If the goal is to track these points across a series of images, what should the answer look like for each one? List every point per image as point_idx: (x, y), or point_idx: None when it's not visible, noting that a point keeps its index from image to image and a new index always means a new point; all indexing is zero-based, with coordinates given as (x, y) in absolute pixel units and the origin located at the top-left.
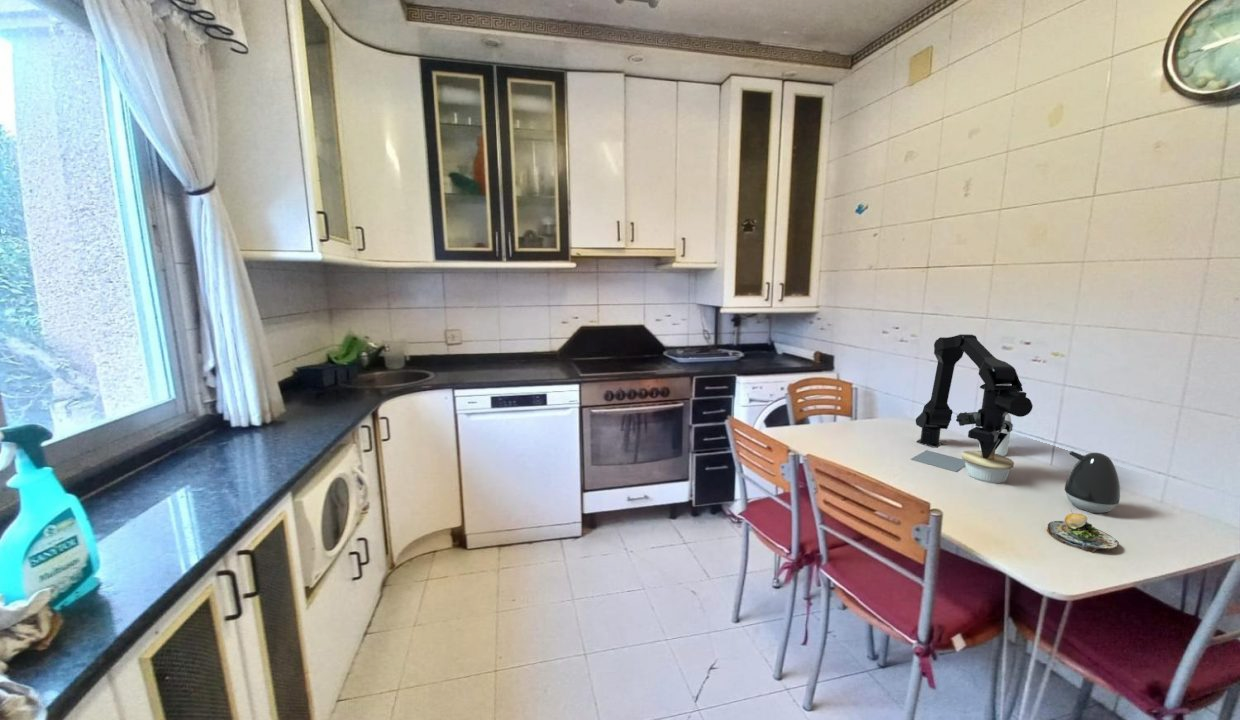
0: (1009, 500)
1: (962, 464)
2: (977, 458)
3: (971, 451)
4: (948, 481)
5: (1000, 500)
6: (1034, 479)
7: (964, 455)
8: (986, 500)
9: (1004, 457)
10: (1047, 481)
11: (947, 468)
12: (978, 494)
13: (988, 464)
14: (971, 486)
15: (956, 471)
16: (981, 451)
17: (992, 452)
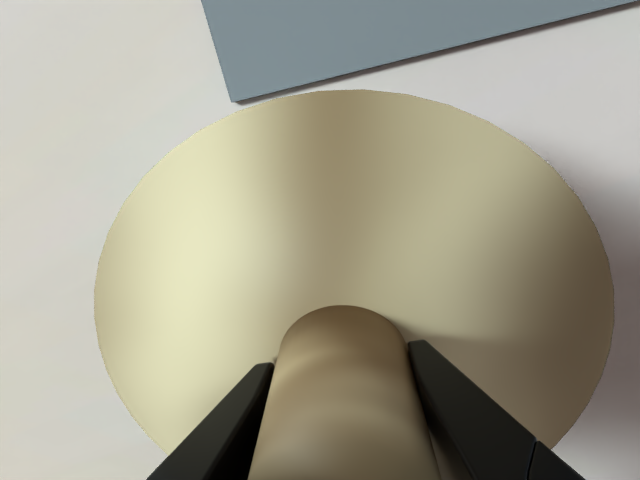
0: (139, 451)
1: (462, 16)
2: (212, 323)
3: (426, 144)
4: (11, 188)
5: (95, 435)
6: (594, 405)
7: (151, 198)
8: (24, 410)
9: (540, 427)
10: (619, 444)
11: (215, 18)
12: (44, 364)
13: (155, 440)
14: None
15: (236, 100)
16: (295, 366)
17: None
